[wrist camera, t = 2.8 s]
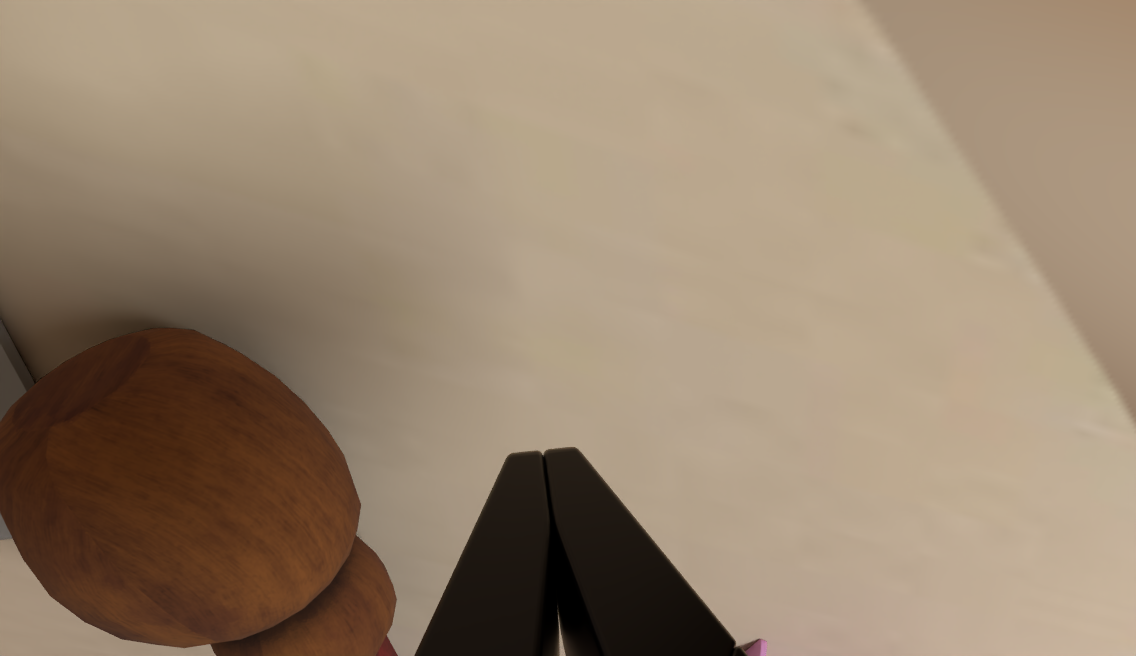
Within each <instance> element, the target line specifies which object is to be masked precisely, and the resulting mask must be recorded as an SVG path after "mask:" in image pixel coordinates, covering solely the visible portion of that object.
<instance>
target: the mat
mask: <svg viewBox="0 0 1136 656" xmlns="http://www.w3.org/2000/svg"><path fill="white" fill-rule="evenodd" d="M34 385H35V383H34V381H33V379H32V377H31V375H30V373H29V372H28V370H27V368H26V366H25V364H24V362H23V360H22V359H21V357H20V355H19V353H18V351H17V349H16V347H15V345H14V344H13V342H12V340H11V338H10V336H9V334H8V332H7V330H6V329H5V327H4V325H3V323H2V321H1V319H0V421H1V420H2V418H3V417H4V416H5V414H6V413H7V411H8V410H9V408H10V407H11V406H12V405H13V404H14V403H15V402H16V401H17V400H18V399H19V398H20V397H21V396H23V395H24V394H25V393H26V392H27V391H28V390H29V389H30V388H31V387H33V386H34ZM3 539H12V536H11V534H10V532H9V530H8V528H7V526H6V524H5V522H4V520H3V518H2V515H1V513H0V540H3Z"/></svg>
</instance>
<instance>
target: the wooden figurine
mask: <svg viewBox="0 0 1136 656" xmlns="http://www.w3.org/2000/svg"><path fill="white" fill-rule="evenodd" d="M360 508H361V503H360V500H359V497H358V495H357V492H356V489H355V486H354V483H353V480H352V477H351V474H350V471H349V469H348V466H347V463H346V460H345V457H344V454H343V453H342V451H341V450H340V448H339V447H338V445H337V444H336V442H335V441H334V439H333V437H332V436H331V434H330V433H329V431H328V430H327V428H326V427H325V426H324V425H323V424H322V423H321V421H320V420H319V419H318V418H317V417H316V416H315V414H314V413H313V412H312V411H311V410H310V408H309V407H308V406H307V405H306V404H305V403H304V402H303V401H302V400H301V399H300V398H299V397H298V396H297V395H296V394H294V393H293V392H292V391H291V390H290V389H289V388H288V387H287V386H286V385H284V384H283V383H282V382H281V381H280V380H279V379H278V378H277V377H276V376H274V375H273V374H271V373H270V372H268V371H267V370H265V369H264V368H262V367H261V366H259V365H258V364H256V363H255V362H253V361H252V360H250V359H249V358H247V357H246V356H244V355H243V354H241V353H239V352H238V351H236V350H234V349H232V348H230V347H228V346H227V345H225V344H223V343H220V342H218V341H216V340H214V339H212V338H210V337H208V336H205V335H203V334H201V333H199V332H197V331H195V330H188V329H177V328H152V329H148V330H144V331H139V332H135V333H131V334H127V335H123V336H120V337H117V338H113V339H110V340H108V341H105V342H103V343H101V344H98V345H96V346H94V347H92V348H89V349H87V350H85V351H83V352H82V353H80V354H78V355H76V356H75V357H73V358H71V359H69V360H67V361H66V362H64V363H62V364H61V365H60V366H58V367H57V368H55V369H54V370H53V371H51V372H50V373H48V374H47V375H46V376H44V377H43V378H42V379H40V380H39V381H38V382H37V383H36V384H35V385H34V386H33V387H31V388H30V389H29V390H28V391H27V392H26V393H25V394H24V395H23V396H21V397H20V398H19V399H18V400H17V401H16V402H15V403H14V404H13V405H12V406H11V407H10V408H9V410H8V411H7V413H6V414H5V416H4V417H3V418H2V420H1V421H0V513H1V515H2V518H3V520H4V522H5V524H6V526H7V528H8V530H9V532H10V534H11V536H12V538H13V540H14V542H15V544H16V546H17V548H18V550H19V552H20V554H21V556H22V558H23V560H24V561H25V562H26V564H27V565H28V566H29V568H30V569H31V571H32V572H33V573H34V575H35V576H36V577H37V579H38V580H39V581H40V583H41V584H42V586H43V587H44V588H45V590H46V591H47V592H48V594H49V595H50V596H51V597H52V598H53V599H55V600H56V601H57V602H59V603H60V604H61V605H63V606H64V607H65V608H67V609H68V610H69V611H71V612H72V613H73V614H75V615H76V616H77V617H79V618H80V619H81V620H83V621H84V622H86V623H88V624H90V625H92V626H95V627H97V628H99V629H101V630H103V631H105V632H107V633H109V634H112V635H114V636H116V637H118V638H120V639H124V640H130V641H137V642H143V643H149V644H155V645H164V646H172V647H180V648H187V647H193V646H200V645H206V644H211V646H212V649H213V651H214V653H215V654H216V656H398V655H397V654H396V652H395V650H394V648H393V646H392V644H391V643H390V641H389V639H388V637H387V633H388V631H389V630H390V628H391V626H392V623H393V617H394V611H395V606H396V600H397V599H396V595H395V591H394V588H393V584H392V582H391V580H390V577H389V575H388V573H387V570H386V568H385V566H384V564H383V563H382V561H381V560H380V558H379V557H378V556H377V554H376V553H375V552H374V551H373V550H372V549H371V548H370V547H369V546H367V545H366V544H365V543H364V542H363V541H362V540H361V539H360V538H359V537H357V536H356V531H357V528H358V522H359V515H360Z"/></svg>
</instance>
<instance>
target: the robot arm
mask: <svg viewBox="0 0 1136 656" xmlns="http://www.w3.org/2000/svg"><path fill="white" fill-rule="evenodd" d="M557 606H558V607H557ZM558 615H559V622H560V629H561V635H562V640H563V645H564V650H565V654H566V656H748V655H747V654H746V653H745V651H744V650H743V649H742V648H741V647H739V646H738V647H736V641H735V640H734V638H733V637H732V636H731V635H730V633H729V632H728V631H727V630H726V629H725V627H724V626H723V625H722V624H721V622H720V621H719V620H718V619H717V618H716V616H715V615H714V614H713V613H712V611H711V610H710V609H709V608H708V607H707V605H706V604H705V603H704V602H703V600H702V599H701V598H700V597H699V596H698V594H697V593H696V592H695V591H694V590H693V588H692V587H691V586H690V585H689V583H688V582H687V581H686V580H685V579H684V577H683V576H682V575H681V574H680V572H679V571H678V570H677V569H676V568H675V566H674V565H673V564H672V563H671V561H670V560H669V559H668V558H667V557H666V555H665V554H664V553H663V552H662V550H661V549H660V548H659V547H658V546H657V544H656V543H655V542H654V541H653V539H652V538H651V537H650V536H649V535H648V533H647V532H646V531H645V530H644V528H643V527H642V526H641V525H640V524H639V522H638V521H637V520H636V519H635V517H634V516H633V515H632V514H631V513H630V511H629V510H628V509H627V508H626V506H625V505H624V504H623V503H622V502H621V500H620V499H619V498H618V497H617V495H616V494H615V493H614V492H613V491H612V489H611V488H610V487H609V486H608V484H607V483H606V482H605V481H604V480H603V478H602V477H601V476H600V475H599V473H598V472H597V471H596V470H595V469H594V467H593V466H592V465H591V464H590V463H589V461H588V460H587V459H586V458H585V456H584V455H583V454H582V453H581V452H580V451H579V450H578V449H577V448H575V447H566V448H556V449H548V450H546V451H545V452H544V455H542V453H541V452H540V451H527V452H518V453H511V454H510V455H508V457H507V458H506V460H505V462H504V464H503V466H502V469H501V471H500V473H499V475H498V477H497V479H496V482H495V484H494V486H493V488H492V490H491V492H490V494H489V497H488V499H487V501H486V503H485V505H484V507H483V509H482V512H481V514H480V516H479V518H478V520H477V522H476V525H475V527H474V529H473V531H472V533H471V535H470V537H469V540H468V542H467V544H466V546H465V548H464V550H463V552H462V555H461V557H460V559H459V561H458V563H457V565H456V568H455V570H454V572H453V574H452V576H451V578H450V580H449V583H448V585H447V587H446V589H445V591H444V593H443V595H442V598H441V600H440V602H439V604H438V606H437V608H436V611H435V613H434V615H433V617H432V619H431V621H430V623H429V626H428V628H427V630H426V632H425V634H424V636H423V638H422V641H421V643H420V645H419V647H418V649H417V651H416V654H415V656H559V622H558Z"/></svg>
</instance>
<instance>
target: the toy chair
mask: <svg viewBox="0 0 1136 656" xmlns="http://www.w3.org/2000/svg"><path fill="white" fill-rule="evenodd" d="M766 650H767V641H765V640H762V639H759V640H758V641H757V642H756V643H754V644H753V645H752V646H751V647H750V648H749V649H748V650H746V651H745V653H746V654H747V655H748V656H766Z"/></svg>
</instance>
